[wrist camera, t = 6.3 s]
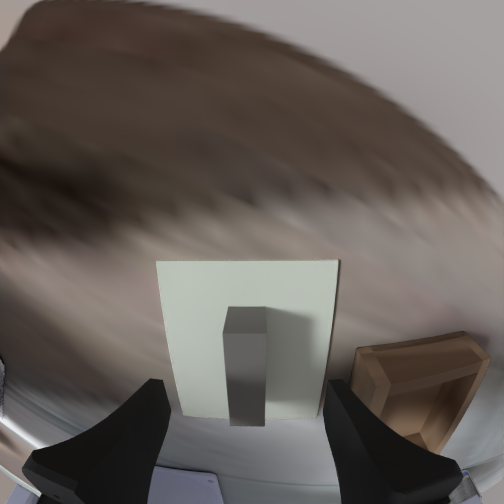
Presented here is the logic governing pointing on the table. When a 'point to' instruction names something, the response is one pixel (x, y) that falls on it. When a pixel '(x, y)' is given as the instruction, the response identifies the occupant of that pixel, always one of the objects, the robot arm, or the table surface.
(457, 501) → the pill bottle
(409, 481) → the robot arm
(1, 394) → the decorative urn
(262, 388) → the lid
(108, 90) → the table surface
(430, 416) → the box
